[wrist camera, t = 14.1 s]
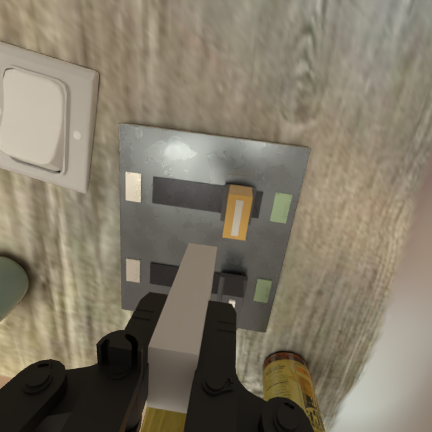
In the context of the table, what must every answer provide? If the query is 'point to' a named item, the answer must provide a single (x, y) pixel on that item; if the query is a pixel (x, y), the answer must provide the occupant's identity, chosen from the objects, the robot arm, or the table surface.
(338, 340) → the table surface
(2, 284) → the cup
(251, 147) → the breaker panel
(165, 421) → the vase
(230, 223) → the lever
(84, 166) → the light switch
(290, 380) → the sauce bottle
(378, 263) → the table surface
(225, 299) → the lever
